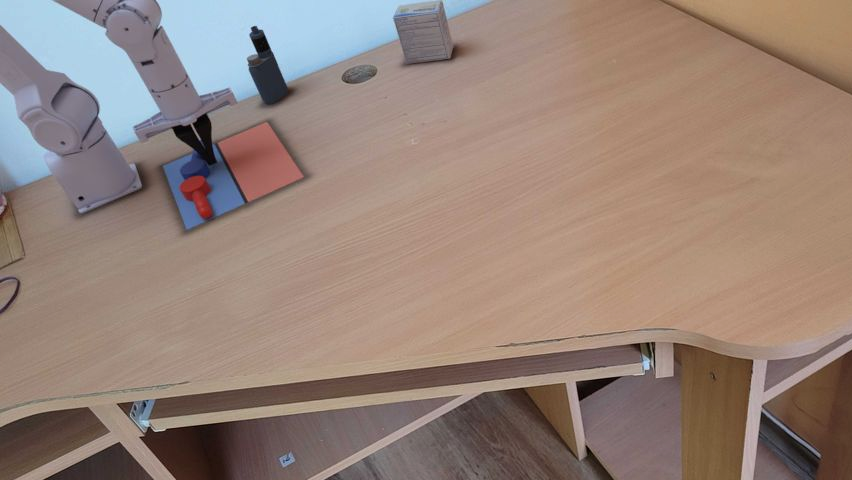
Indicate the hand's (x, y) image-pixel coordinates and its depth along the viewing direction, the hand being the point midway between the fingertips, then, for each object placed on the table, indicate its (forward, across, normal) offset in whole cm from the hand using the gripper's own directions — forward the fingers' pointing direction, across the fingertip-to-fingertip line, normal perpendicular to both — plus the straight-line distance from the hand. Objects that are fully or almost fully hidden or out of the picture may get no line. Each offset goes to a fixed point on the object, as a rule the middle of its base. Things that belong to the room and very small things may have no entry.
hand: (211, 161), depth 109 cm
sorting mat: (+1, +2, -4) cm, 4 cm away
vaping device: (+1, +14, +14) cm, 20 cm away
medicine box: (+1, +40, +5) cm, 41 cm away
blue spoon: (+1, -2, +2) cm, 3 cm away
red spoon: (+1, -4, -8) cm, 9 cm away
